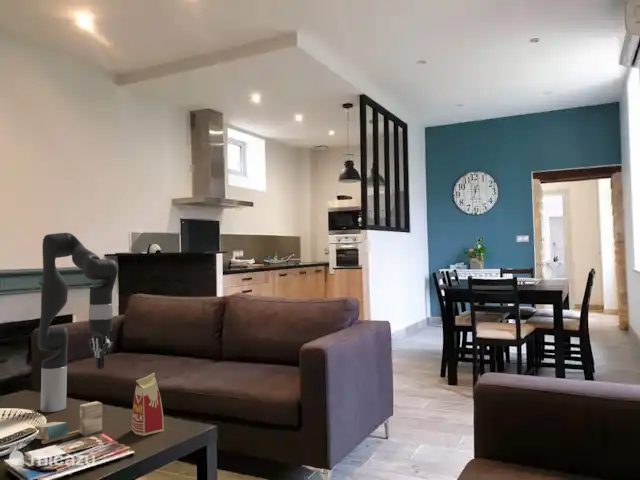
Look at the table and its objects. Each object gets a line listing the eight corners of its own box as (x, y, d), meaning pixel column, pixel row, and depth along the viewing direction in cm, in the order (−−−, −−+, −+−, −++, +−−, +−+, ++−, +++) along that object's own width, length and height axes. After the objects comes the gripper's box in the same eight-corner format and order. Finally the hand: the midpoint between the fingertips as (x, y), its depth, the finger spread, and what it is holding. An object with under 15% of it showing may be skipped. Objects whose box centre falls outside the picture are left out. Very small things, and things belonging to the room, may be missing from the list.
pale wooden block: (79, 434, 174) (79, 405, 175) (95, 429, 179) (96, 401, 179) (85, 436, 172) (85, 407, 172) (101, 431, 177) (102, 403, 177)
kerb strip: (41, 443, 165) (41, 440, 166) (96, 427, 181) (96, 425, 181) (43, 444, 165) (43, 441, 165) (98, 428, 180) (98, 425, 180)
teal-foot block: (49, 439, 164) (35, 438, 170) (67, 434, 169) (53, 433, 175) (48, 427, 165) (35, 426, 171) (67, 422, 170) (53, 421, 175)
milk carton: (153, 425, 184) (153, 369, 185) (165, 430, 177) (165, 373, 178) (128, 430, 177) (129, 373, 178) (140, 437, 171) (141, 378, 172)
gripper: (80, 317, 173) (79, 368, 172) (100, 319, 165) (99, 372, 164) (101, 315, 179) (100, 364, 178) (121, 317, 171) (120, 368, 170)
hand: (100, 368), depth 171 cm, fingers closed
